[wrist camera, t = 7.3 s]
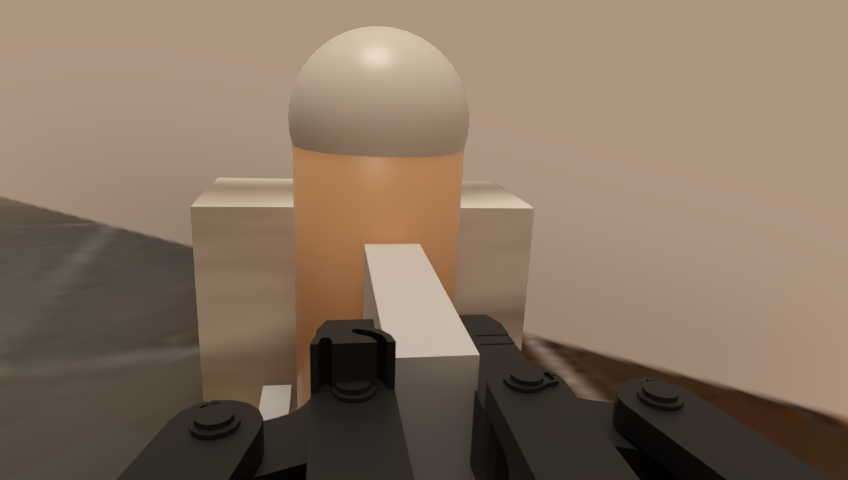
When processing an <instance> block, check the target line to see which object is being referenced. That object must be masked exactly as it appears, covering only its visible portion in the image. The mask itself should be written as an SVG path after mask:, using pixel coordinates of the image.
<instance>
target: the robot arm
mask: <svg viewBox="0 0 848 480" xmlns="http://www.w3.org/2000/svg"><path fill="white" fill-rule="evenodd" d="M310 385H311V395H310V399H309V400H308V401H307V403H306V404H304V405H303V406H302V407H300V408H299V409H297V410H295V411H293V412H291V413H289V414H287V415H283V416H280V417H277V418H273V419H269V420H265V421H263V417H262V415H261V413H260V411H259V409H258V408H256V407H254V406H252V405H251V404H249V403H246V402H241V401H236V400H212V401H210V402H208V401H207V402H203V403H200V404H197V405H195V406H193V407H190V408H188V409H186V410H184V411H181V412H180V413H179V414H178V415H176V416H175V417H174V418H172V419H171V420H170V421H169V422H168V423H167V424H166V425H165V426H164V428H163V429H162V430H161V431H160V432H159V433H158V434H157V435H156V436H155V438H154V439H153V440H152V441H151V442H150V443H149V444H148V445H147V446H146V448H145V449H144V450H143V451H142V452H141V453H140V454H139V455H138V456H137V458H136V459H135V460H134V461H133V462H132V463H131V464H130V465H129V466H128V468H127V469H126V470H125V471H124V472H123V473H122V474H121V475H120V476H119V478H118V479H117V480H471V478H472V472H473V475H474V478H475V480H832V479H831V478H829V477H828V476H826V475H824V474H823V473H821V472H819V471H818V470H816V469H815V468H813V467H811V466H810V465H808V464H807V463H805V462H803V461H802V460H800V459H798V458H797V457H795V456H794V455H792V454H790V453H789V452H787V451H786V450H784V449H782V448H781V447H779V446H778V445H776V444H774V443H773V442H771V441H769V440H768V439H766V438H765V437H763V436H761V435H760V434H758V433H757V432H755V431H753V430H752V429H750V428H748V427H747V426H745V425H744V424H742V423H740V422H739V421H737V420H736V419H734V418H732V417H731V416H729V415H728V414H726V413H724V412H723V411H721V410H719V409H718V408H716V407H715V406H713V405H711V404H710V403H708V402H707V401H705V400H703V399H702V398H700V397H698V396H697V395H695V394H694V393H692V392H690V391H688V390H686V389H684V388H682V387H680V386H678V385H676V384H672V383H669V382H666V381H665V380H662V379H657V378H654V379H652V378H639V379H630V380H627V381H624V382H622V383H620V385H619V386H618V387H617V389H616V394H615V402H614V403H609V402H601V401H593V400H586V399H581V398H577V397H576V396H575V394H574V393H573V392H572V390H571V389H570V388H569V386H568V385H567V384H566V382H565V381H564V380H563V379H562V378H560V377H559V376H558V375H557V374H556V373H553V372H552V371H549V370H547V369H545V368H541V367H537V366H533V365H530V364H529V363H528V361H527V360H526V358H525V357H524V355H523V354H522V352H521V351H520V350H519V348H518V347H517V345H515V342H514V341H513V340H512V338H511V337H510V336H509V334H508V332H507V331H506V329H505V328H504V327H503V325H502V324H501V323H500V322H498V321H496V320H495V319H493V318H491V317H490V316H488V315H486V314H478V315H458V314H457V312H456V310H455V308H454V306H453V304H452V302H451V301H450V299H449V297H448V295H447V293H446V291H445V290H444V288H443V286H442V284H441V282H440V280H439V278H438V277H437V275H436V273H435V271H434V269H433V267H432V265H431V264H430V262H429V260H428V258H427V256H426V254H425V253H424V251H423V249H422V247H421V245H420V244H364V304H363V319H356V320H326V321H325V322H324V323H323V324H322V325H321V326H320V327H319V328H318V329H317V330H316V336H315V337H314V338H313V339H312V341H311V343H310Z"/></svg>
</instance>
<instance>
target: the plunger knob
mask: <svg viewBox="0 0 848 480" xmlns="http://www.w3.org/2000/svg"><path fill="white" fill-rule="evenodd" d="M288 119H289V131H290V135H291V140H292V146H293V200H294V255H295V310H296V365H297V409H299V408H300V407H302V406H303V405H304V404H306V403H307V401H308V400H309V399H310V395H311V385H310V343H311V341H312V339H313V338H314V337H315V336H316V330H317V329H318V328H319V327H320V326H321V325H322V324H323V323H324V322H325V321H326V320H356V319H363V304H364V244H420V245H421V247H422V249H423V251H424V253H425V254H426V256H427V258H428V260H429V262H430V264H431V265H432V267H433V269H434V271H435V273H436V275H437V277H438V278H439V280H440V282H441V284H442V286H443V288H444V290H445V291H446V293H447V295H448V297H449V299H450V301H451V302H452V304H453V306H454V304H455V288H456V271H457V255H458V238H459V221H460V205H461V188H462V171H463V154H464V148H465V144H466V140H467V135H468V127H469V112H468V104H467V99H466V95H465V91H464V88H463V86H462V84H461V81H460V79H459V77H458V75H457V73H456V71H455V70H454V68H453V67H452V65H451V64H450V63H449V61H448V60H447V59H446V58H445V56H443V54H442V53H440V51H439V50H438V49H437V48H435V47H434V46H433V45H431V44H430V43H429V42H427V41H425V40H424V39H422V38H421V37H419V36H417V35H415V34H412V33H410V32H407V31H405V30H401V29H397V28H393V27H383V26H370V27H363V28H357V29H354V30H350V31H347V32H345V33H342V34H341V35H338V36H336V37H334V38H333V39H331V40H329V41H328V42H326V43H325V44H324V45H322V46H321V47H320V48H319V49H318V50H317V51H315V52H314V54H313V55H312V56H311V57H310V58H309V59H308V60H307V62H306V63H305V65H304V66H303V68H302V69H301V71H300V73H299V75H298V77H297V79H296V81H295V84H294V87H293V90H292V93H291V97H290V103H289V116H288Z"/></svg>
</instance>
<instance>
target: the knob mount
mask: <svg viewBox="0 0 848 480" xmlns="http://www.w3.org/2000/svg"><path fill="white" fill-rule="evenodd" d="M190 209H191V223H192V237H193V238H192V239H193V254H194V269H195V283H196V298H197V313H198V328H199V343H200V358H201V373H202V388H203V402H207V401H208V402H210V401H212V400H236V401H241V402H246V403H249V404H251V405H252V406H254V407H256V408H258V409H259V411H260V413H261V415H262V417H263V421H265V420H269V419H273V418H277V417H280V416H283V415H287V414H289V413H291V412H293V411H295V410H297V365H296V310H295V255H294V200H293V179H266V178H265V179H263V178H218V179H217V180H216V181H215V182H214V183H213V184H212V185H211V186H210V187H209V188H208V189H207V190H206V191H205V192H204V193H203V194H202V195H201V196H200V197H199V198H198V199H197V200H196V201H195V202H194V203H193V204H192V206H190ZM533 217H534V208H533V207H531V206H530V205H528V204H527V203H525V202H524V201H522V200H521V199H519V198H518V197H516V196H514V195H513V194H512V193H510V192H509V191H507V190H506V189H504V188H503V187H501V186H499V185H498V184H496V183H495V182H493V181H492V182H491V181H490V182H489V181H488V182H487V181H462V188H461V205H460V221H459V238H458V255H457V271H456V288H455V304H454V308H455V310H456V312H457V314H458V315H478V314H486V315H488V316H490V317H491V318H493V319H495V320H496V321H498V322H500V323H501V324H502V325H503V327H504V328H505V329H506V331H507V332H508V334H509V336H510V337H511V338H512V340H513V341H514V342H515V345H517V347H518V348H519V350H520V351H521V344H522V334H523V323H524V313H525V302H526V291H527V281H528V270H529V259H530V249H531V239H532V228H533ZM471 480H475V478H474V475H473V472H472V478H471Z"/></svg>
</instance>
